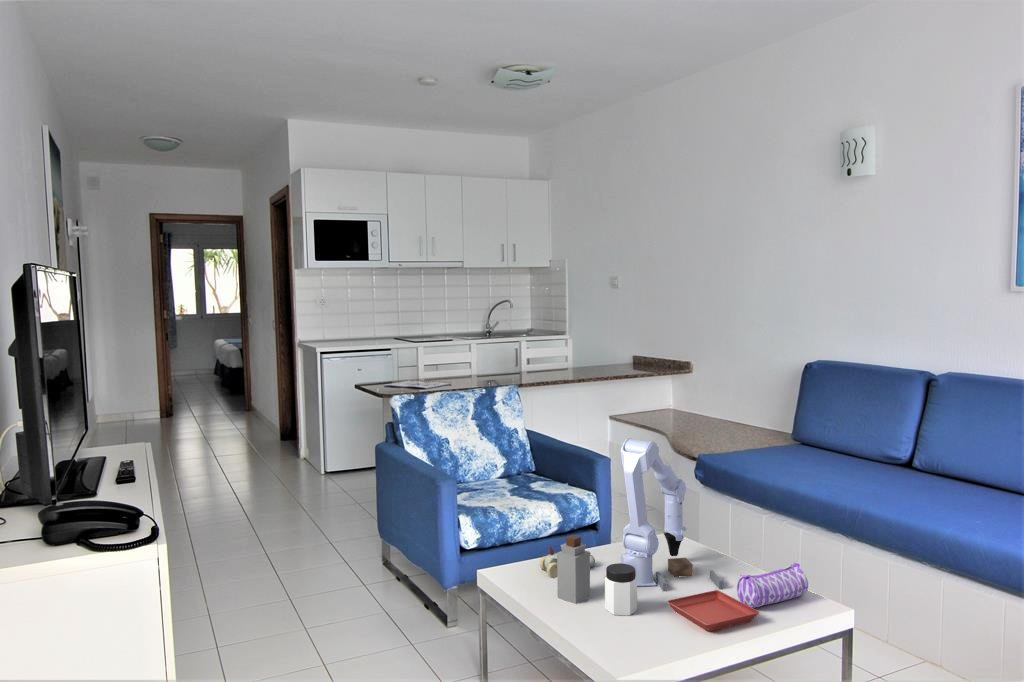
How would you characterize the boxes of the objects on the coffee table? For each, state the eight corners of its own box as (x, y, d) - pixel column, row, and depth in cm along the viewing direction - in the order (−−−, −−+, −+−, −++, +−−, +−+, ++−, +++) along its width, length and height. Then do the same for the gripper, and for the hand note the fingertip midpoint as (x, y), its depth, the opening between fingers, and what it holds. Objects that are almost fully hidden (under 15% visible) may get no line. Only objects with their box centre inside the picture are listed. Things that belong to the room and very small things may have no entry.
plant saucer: (665, 611, 217) (665, 599, 217) (717, 599, 224) (717, 588, 224) (706, 637, 201) (706, 624, 200) (760, 624, 208) (761, 612, 208)
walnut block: (674, 577, 241) (674, 565, 241) (667, 570, 247) (667, 558, 247) (692, 576, 242) (692, 564, 242) (685, 569, 248) (685, 557, 248)
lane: (663, 591, 230) (663, 583, 230) (655, 579, 239) (655, 572, 239) (722, 589, 231) (722, 581, 231) (713, 577, 240) (713, 570, 240)
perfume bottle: (590, 596, 227) (589, 536, 226) (575, 603, 222) (575, 542, 221) (572, 590, 232) (571, 532, 230) (557, 597, 227) (557, 537, 225)
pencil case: (786, 587, 232) (786, 557, 231) (812, 598, 224) (812, 566, 223) (733, 603, 221) (733, 571, 220) (758, 615, 213) (758, 582, 212)
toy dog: (599, 567, 251) (599, 540, 251) (560, 583, 238) (560, 555, 238) (571, 558, 260) (571, 532, 259) (532, 573, 247) (531, 545, 247)
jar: (642, 613, 215) (642, 570, 214) (617, 618, 212) (617, 576, 211) (624, 601, 223) (624, 560, 222) (600, 606, 220) (599, 565, 219)
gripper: (692, 520, 244) (692, 562, 245) (679, 507, 259) (679, 547, 260) (670, 521, 244) (670, 563, 245) (658, 508, 259) (659, 548, 260)
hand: (673, 555), depth 252 cm, fingers closed
